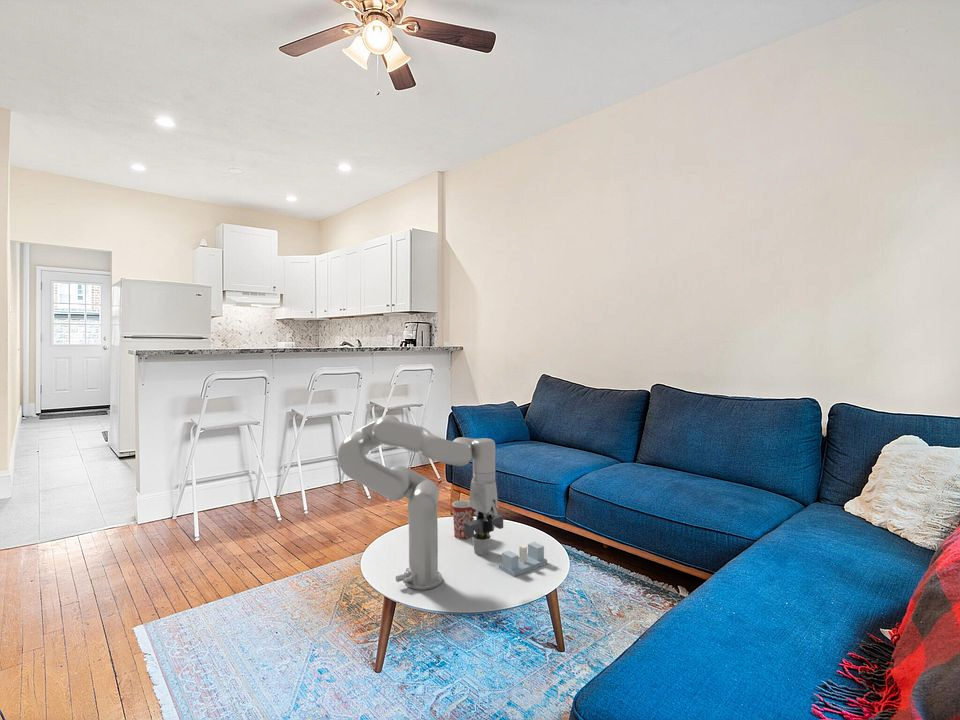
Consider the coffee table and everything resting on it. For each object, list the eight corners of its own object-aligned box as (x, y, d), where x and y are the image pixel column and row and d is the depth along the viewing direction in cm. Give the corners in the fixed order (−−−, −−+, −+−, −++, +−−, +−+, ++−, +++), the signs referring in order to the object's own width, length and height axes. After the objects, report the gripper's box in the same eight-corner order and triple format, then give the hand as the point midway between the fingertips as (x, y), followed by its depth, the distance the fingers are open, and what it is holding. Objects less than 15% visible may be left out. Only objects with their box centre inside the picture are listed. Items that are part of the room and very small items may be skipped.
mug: (450, 540, 201) (450, 507, 200) (453, 531, 210) (453, 499, 209) (482, 540, 200) (482, 507, 200) (483, 531, 209) (483, 500, 209)
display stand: (513, 576, 170) (513, 556, 170) (498, 568, 176) (498, 548, 176) (547, 563, 180) (547, 544, 179) (531, 556, 186) (531, 537, 186)
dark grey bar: (469, 537, 161) (469, 525, 161) (464, 535, 164) (464, 523, 163) (503, 527, 170) (503, 516, 169) (497, 525, 172) (497, 513, 172)
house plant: (452, 555, 187) (452, 512, 186) (470, 542, 199) (470, 501, 198) (486, 563, 180) (486, 518, 179) (502, 549, 192) (502, 507, 192)
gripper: (460, 472, 170) (461, 525, 171) (490, 483, 157) (490, 541, 158) (478, 469, 175) (478, 521, 175) (508, 479, 161) (508, 535, 162)
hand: (484, 530), depth 167 cm, fingers closed on dark grey bar, 3 cm apart
